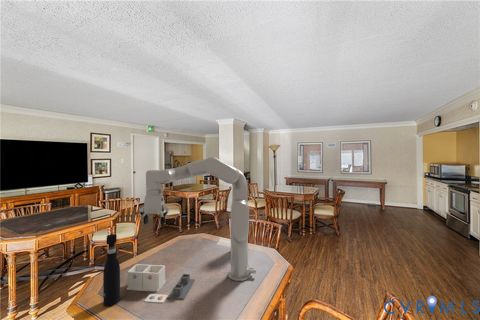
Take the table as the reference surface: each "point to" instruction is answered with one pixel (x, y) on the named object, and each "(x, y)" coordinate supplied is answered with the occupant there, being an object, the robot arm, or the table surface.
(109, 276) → the wine bottle
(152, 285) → the two-slot cubby shelf
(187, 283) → the ball stand
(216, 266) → the table surface
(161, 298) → the card
